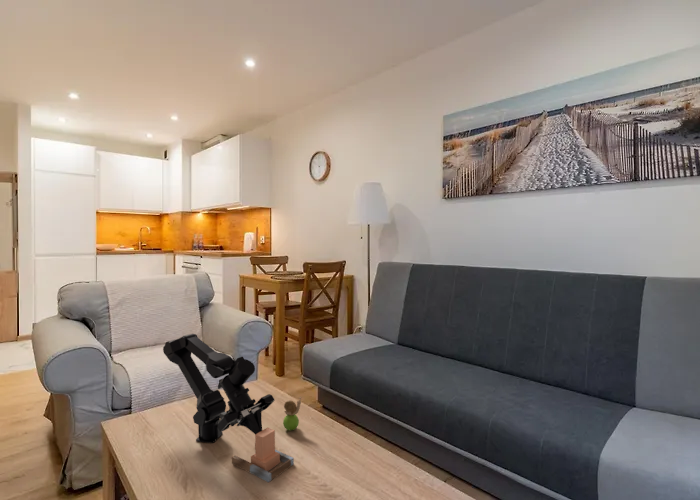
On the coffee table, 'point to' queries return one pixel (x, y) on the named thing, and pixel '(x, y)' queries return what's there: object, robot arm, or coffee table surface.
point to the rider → (265, 450)
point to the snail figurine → (291, 414)
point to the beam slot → (261, 472)
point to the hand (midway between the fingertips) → (261, 436)
